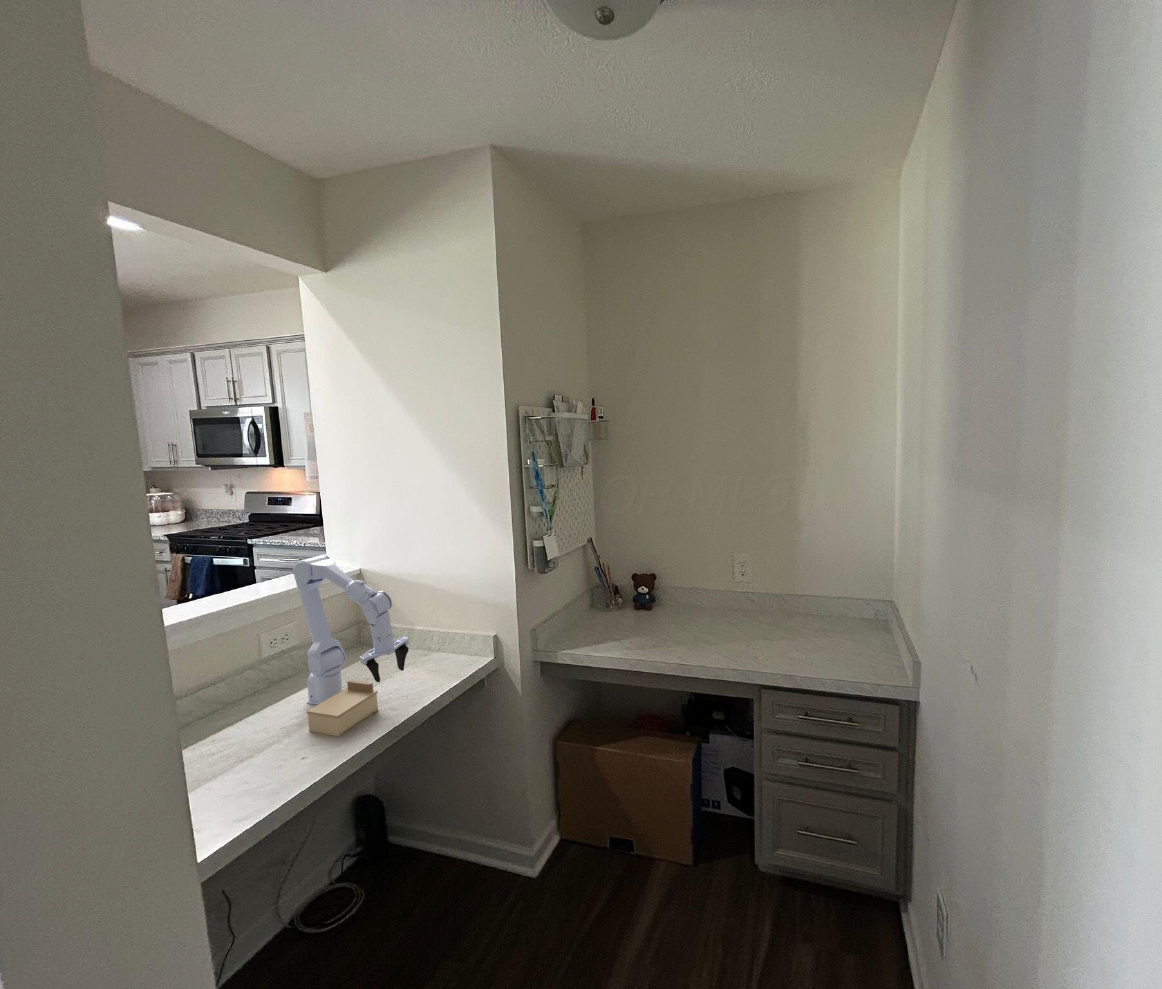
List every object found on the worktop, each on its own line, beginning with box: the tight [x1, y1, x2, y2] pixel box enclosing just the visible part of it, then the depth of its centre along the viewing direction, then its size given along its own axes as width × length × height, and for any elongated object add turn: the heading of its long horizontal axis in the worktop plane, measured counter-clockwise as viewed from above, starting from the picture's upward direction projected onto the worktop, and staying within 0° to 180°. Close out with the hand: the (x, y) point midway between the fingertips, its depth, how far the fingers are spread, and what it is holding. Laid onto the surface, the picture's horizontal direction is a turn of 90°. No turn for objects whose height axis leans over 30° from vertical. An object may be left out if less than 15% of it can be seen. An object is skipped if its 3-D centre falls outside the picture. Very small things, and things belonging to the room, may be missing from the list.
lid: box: [306, 679, 378, 718], centre depth 175 cm, size 16×10×3 cm, turn 160°
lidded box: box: [307, 693, 379, 737], centre depth 176 cm, size 16×10×5 cm, turn 160°
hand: (389, 675), depth 184 cm, fingers open, 7 cm apart
